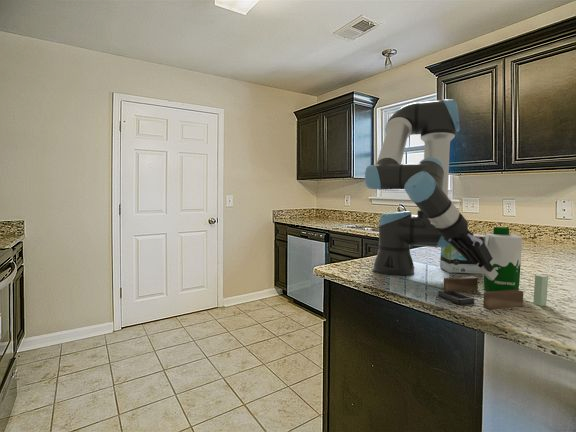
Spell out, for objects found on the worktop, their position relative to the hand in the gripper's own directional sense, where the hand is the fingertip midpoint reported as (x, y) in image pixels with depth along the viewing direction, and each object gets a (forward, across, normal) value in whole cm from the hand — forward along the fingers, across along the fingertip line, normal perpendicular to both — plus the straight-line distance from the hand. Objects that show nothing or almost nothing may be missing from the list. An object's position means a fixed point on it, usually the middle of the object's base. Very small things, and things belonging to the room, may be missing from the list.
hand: (493, 276), depth 96 cm
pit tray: (-5, 0, -13) cm, 14 cm away
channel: (+1, 0, -7) cm, 7 cm away
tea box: (+17, -30, +8) cm, 36 cm away
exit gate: (+9, 0, +1) cm, 9 cm away
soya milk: (+8, -2, -1) cm, 8 cm away
